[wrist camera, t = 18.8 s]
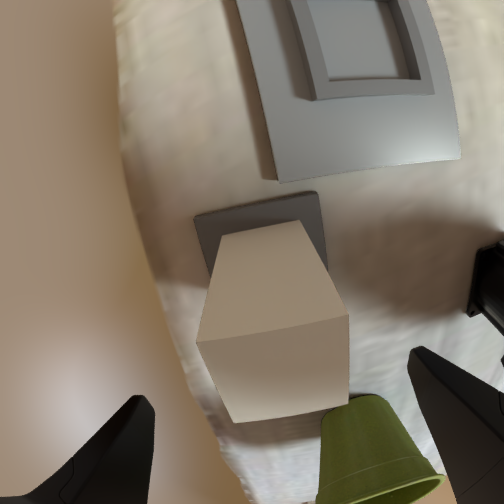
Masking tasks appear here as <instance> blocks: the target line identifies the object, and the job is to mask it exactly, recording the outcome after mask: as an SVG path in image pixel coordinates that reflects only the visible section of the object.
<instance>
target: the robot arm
mask: <svg viewBox="0 0 504 504" xmlns="http://www.w3.org/2000/svg"><path fill="white" fill-rule="evenodd" d="M480 313H482V314H483V315H484V316H485V317H486V318H487V319H488V320H489V321H490V322H491V323H492V324H493V325H494V326H495V327H496V328H497V329H498V331H499V332H500V333H501V334H502V335H503V336H504V240H503V241H500V242H498V243H496V244H493V245H490V246H487V247H484V248H481V249H479V250H478V252H477V255H476V262H475V269H474V276H473V282H472V287H471V293H470V298H469V302H468V307H467V312H466V314H467V315H468V316H469V317H473V316H476V315H478V314H480ZM501 362H502V364H503V367H504V355H503V357H502V358H501ZM407 370H408V374H409V376H410V379H411V382H412V385H413V388H414V391H415V395H416V398H417V401H418V404H419V407H420V409H421V412H422V414H423V416H424V419H425V421H426V423H427V426H428V428H429V430H430V432H431V435H432V437H433V440H434V442H435V444H436V447H437V449H438V452H439V454H440V457H441V459H442V462H443V465H444V467H445V470H446V473H447V475H448V478H449V481H450V483H451V486H452V489H453V492H454V495H455V498H456V501H457V504H504V393H502V392H501V391H498V390H497V389H495V388H494V387H492V386H490V385H489V384H487V383H485V382H484V381H482V380H480V379H478V378H477V377H475V376H473V375H472V374H470V373H468V372H466V371H465V370H463V369H461V368H460V367H458V366H456V365H455V364H453V363H451V362H449V361H448V360H446V359H444V358H443V357H441V356H439V355H437V354H436V353H434V352H432V351H431V350H429V349H427V348H425V347H424V346H419V347H416V348H413V349H411V351H410V354H409V360H408V365H407ZM154 427H155V411H154V408H153V407H152V406H151V404H150V403H149V401H148V400H147V399H146V397H145V396H143V395H133V396H132V397H131V398H129V400H128V401H127V402H126V403H125V404H124V405H123V406H122V407H121V408H120V409H119V410H118V411H117V412H116V413H115V414H114V415H113V416H112V417H111V418H110V419H109V420H108V421H107V422H106V423H105V424H104V425H103V426H102V427H101V428H100V429H99V430H98V431H97V432H96V433H95V434H94V436H92V437H91V438H90V439H89V440H88V441H87V443H85V444H84V445H83V447H81V448H80V449H79V450H78V451H77V452H76V454H74V456H73V457H71V458H70V459H69V460H68V461H67V462H66V463H65V464H64V465H63V466H62V467H61V468H60V469H59V470H58V471H57V472H55V473H54V474H53V475H52V476H51V477H49V478H48V479H47V480H46V481H44V482H43V483H42V484H40V485H39V486H38V487H37V488H35V489H34V490H33V491H31V492H30V493H28V494H25V495H22V496H12V497H0V504H147V500H148V490H149V483H150V474H151V466H152V459H153V452H154Z"/></svg>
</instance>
